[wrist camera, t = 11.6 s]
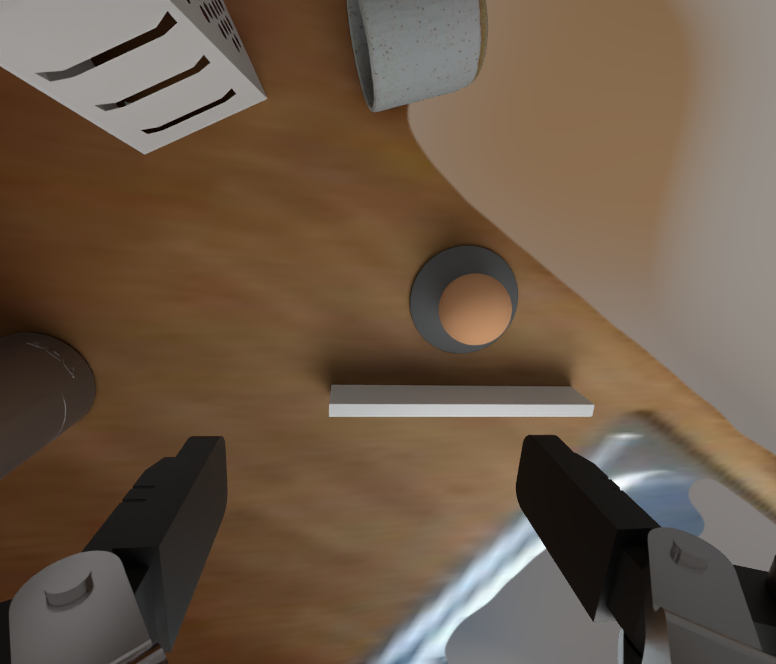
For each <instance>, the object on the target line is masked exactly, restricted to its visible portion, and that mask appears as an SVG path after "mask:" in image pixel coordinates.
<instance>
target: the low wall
mask: <svg viewBox="0 0 776 664" xmlns="http://www.w3.org/2000/svg"><path fill="white" fill-rule="evenodd" d="M593 410H594V404H593V403H592V402H590V401H589V400H588V399H587V398H585V397H584V396H583V395H582V394H580V393H579V392H578V391H576V390H575V389H574V388H573V387H571V386H440V385H331V393H330V401H329V417H592V414H593Z"/></svg>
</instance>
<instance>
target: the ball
mask: <svg viewBox="0 0 776 664" xmlns="http://www.w3.org/2000/svg"><path fill="white" fill-rule="evenodd" d="M511 314H512V304H511V299H510V296H509V294H508V292H507V290H506V289H505V287H504V286H503V285H502V284H501V283H500V282H499V281H497V280H496V279H494V278H493V277H491V276H488V275H484V274H478V273H473V274H467V275H463V276H461V277H459V278H457V279H455V280H454V281H452V282H451V283H450V284H449V285H448V286H447V287H446V289H445V290H444V292H443V293H442V296H441V298H440V302H439V318H440V321H441V324H442V326H443V328H444V329H445V331H446V332H447V333H448V334H449V335H450V336H451V337H452V338H454V339H455V340H457V341H459V342H461V343H464V344H468V345H482V344H486V343H489V342H491V341H493V340H495V339H496V338H497V337H499V336H500V335H501V334H502V333H503V332H504V331H505V329H506V328H507V326H508V324H509V322H510V319H511Z"/></svg>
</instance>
